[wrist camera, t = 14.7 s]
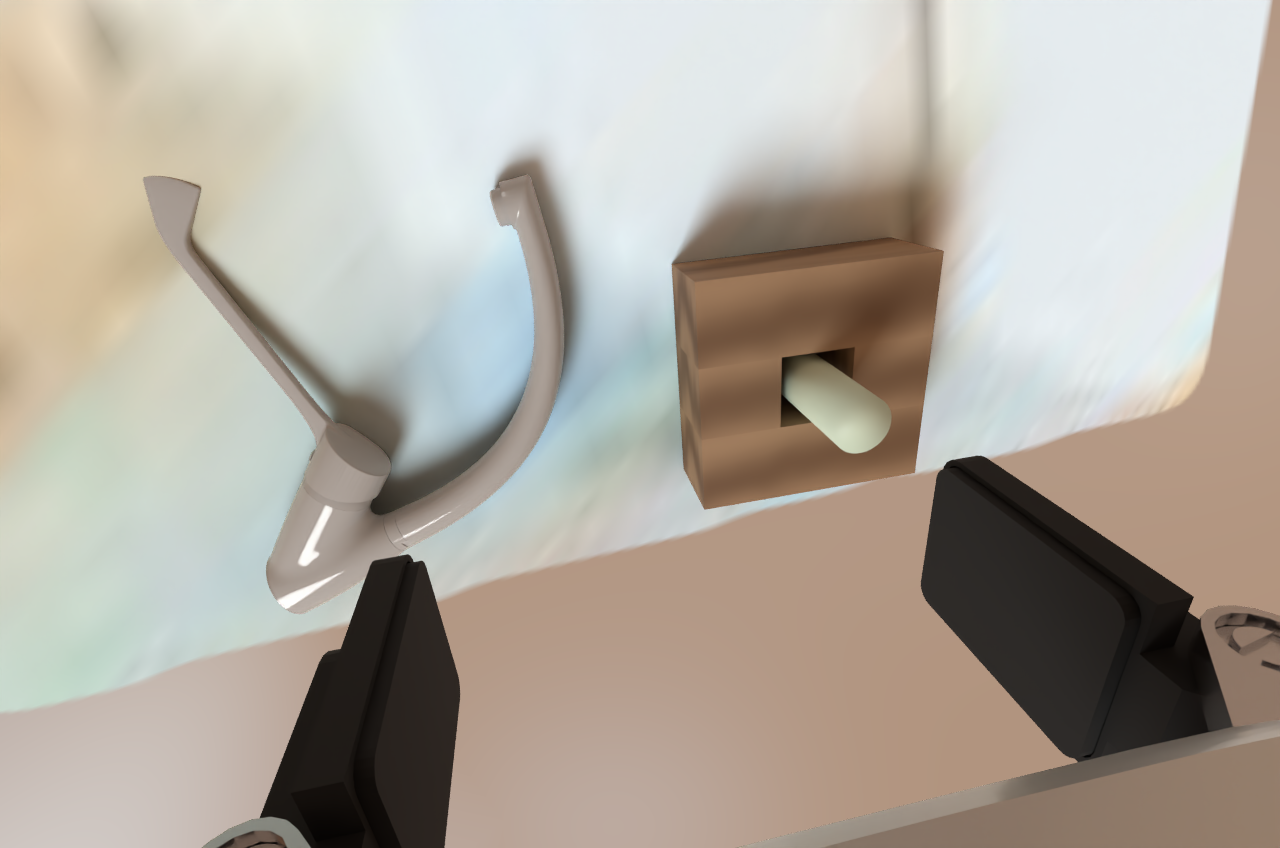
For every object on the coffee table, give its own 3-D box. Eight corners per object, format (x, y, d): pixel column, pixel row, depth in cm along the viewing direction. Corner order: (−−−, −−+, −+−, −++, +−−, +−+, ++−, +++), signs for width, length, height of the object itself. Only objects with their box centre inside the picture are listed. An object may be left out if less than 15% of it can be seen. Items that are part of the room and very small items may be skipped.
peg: (756, 340, 44) (834, 401, 34) (802, 333, 45) (894, 391, 34) (757, 385, 46) (831, 458, 35) (801, 378, 47) (888, 447, 36)
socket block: (671, 263, 41) (694, 282, 36) (890, 237, 43) (943, 251, 38) (683, 468, 48) (704, 509, 43) (872, 437, 50) (914, 472, 45)
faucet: (47, 237, 36) (460, 30, 36) (324, 587, 46) (653, 429, 45) (-25, 240, 32) (446, 4, 31) (299, 627, 42) (664, 453, 41)
